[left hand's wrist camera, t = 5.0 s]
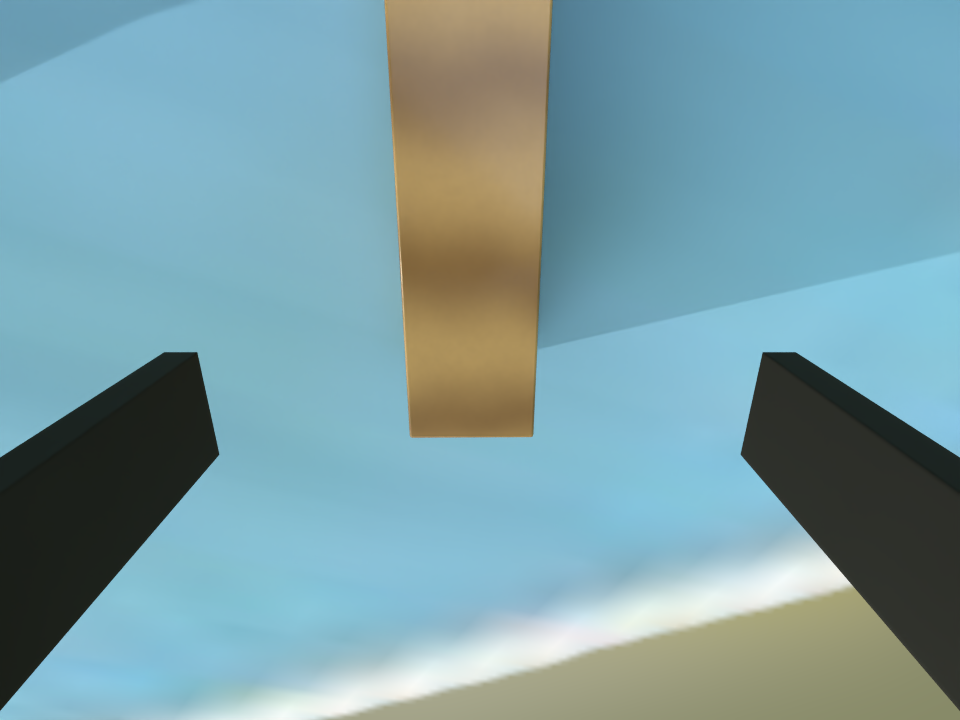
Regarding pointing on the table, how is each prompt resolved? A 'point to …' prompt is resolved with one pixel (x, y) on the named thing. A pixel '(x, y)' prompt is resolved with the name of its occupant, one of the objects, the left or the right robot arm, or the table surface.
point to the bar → (469, 207)
